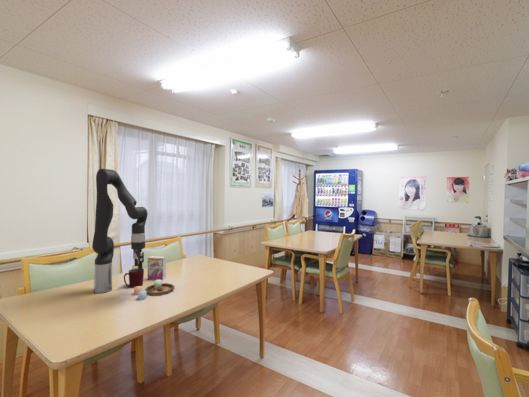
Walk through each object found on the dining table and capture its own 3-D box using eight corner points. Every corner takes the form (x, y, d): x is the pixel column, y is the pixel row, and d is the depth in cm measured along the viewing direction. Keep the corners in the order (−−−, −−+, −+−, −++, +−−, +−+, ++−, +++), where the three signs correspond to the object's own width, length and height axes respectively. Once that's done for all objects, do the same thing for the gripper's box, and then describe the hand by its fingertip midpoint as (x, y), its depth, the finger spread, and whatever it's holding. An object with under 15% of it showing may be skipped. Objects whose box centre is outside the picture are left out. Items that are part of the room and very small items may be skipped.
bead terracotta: (135, 297, 155) (135, 289, 155) (133, 295, 158) (133, 286, 158) (143, 295, 157) (143, 287, 157) (141, 293, 161) (141, 285, 161)
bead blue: (139, 302, 148) (139, 293, 148) (137, 300, 151) (137, 291, 151) (147, 300, 150) (147, 292, 150) (145, 298, 154) (145, 289, 154)
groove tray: (149, 299, 152) (149, 295, 151) (142, 291, 164) (142, 286, 164) (178, 293, 162) (178, 288, 162) (168, 285, 175) (168, 281, 174)
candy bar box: (147, 281, 183) (147, 257, 183) (150, 278, 188) (151, 255, 188) (162, 282, 182) (162, 258, 181) (166, 279, 187) (166, 256, 186)
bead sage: (155, 290, 163) (155, 282, 163) (153, 288, 167) (153, 280, 166) (162, 288, 166) (162, 280, 166) (160, 286, 169) (160, 278, 169)
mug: (127, 292, 163) (127, 274, 162) (120, 288, 168) (121, 271, 168) (146, 286, 172) (146, 270, 172) (139, 283, 178) (139, 267, 177)
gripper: (128, 239, 160) (128, 266, 161) (134, 243, 149) (134, 271, 150) (141, 238, 165) (141, 264, 165) (148, 241, 154) (148, 269, 154)
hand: (138, 267), depth 158 cm, fingers open, 8 cm apart
